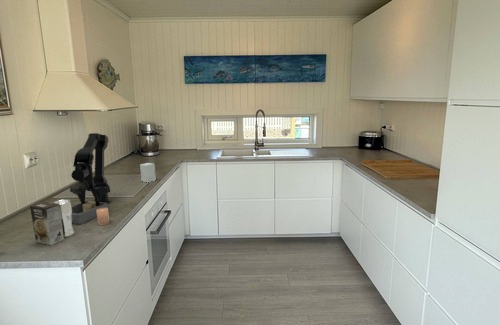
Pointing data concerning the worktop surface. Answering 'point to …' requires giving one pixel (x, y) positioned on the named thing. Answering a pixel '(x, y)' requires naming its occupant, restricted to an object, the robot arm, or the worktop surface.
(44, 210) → the coffee box
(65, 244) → the worktop surface
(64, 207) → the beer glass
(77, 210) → the tote
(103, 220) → the terracotta cylinder
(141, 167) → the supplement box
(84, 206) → the beech cube
